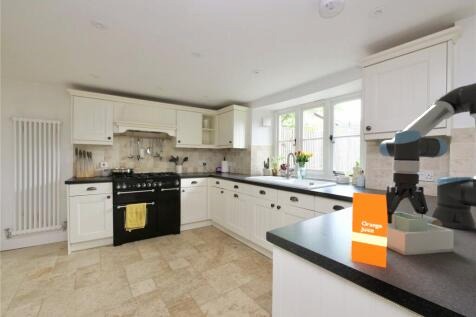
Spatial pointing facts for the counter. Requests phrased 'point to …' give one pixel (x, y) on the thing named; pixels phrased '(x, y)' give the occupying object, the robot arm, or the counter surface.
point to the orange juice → (369, 229)
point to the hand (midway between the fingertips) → (403, 231)
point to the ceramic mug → (433, 221)
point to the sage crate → (409, 222)
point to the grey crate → (421, 240)
